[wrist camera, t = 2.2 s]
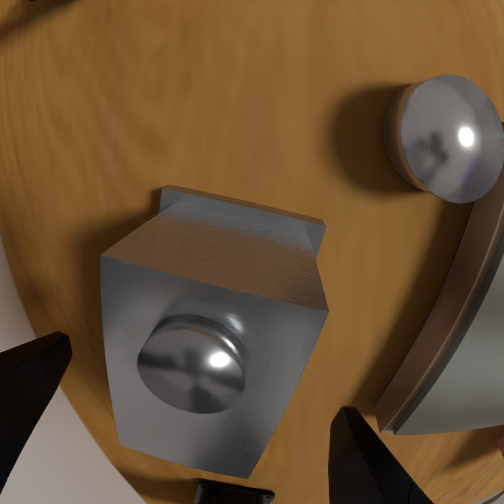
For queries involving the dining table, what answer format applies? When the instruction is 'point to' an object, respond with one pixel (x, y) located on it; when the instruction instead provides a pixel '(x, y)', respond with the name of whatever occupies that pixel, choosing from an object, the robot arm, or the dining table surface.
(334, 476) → the robot arm
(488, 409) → the stand
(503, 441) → the house
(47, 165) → the dining table surface
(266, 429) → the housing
